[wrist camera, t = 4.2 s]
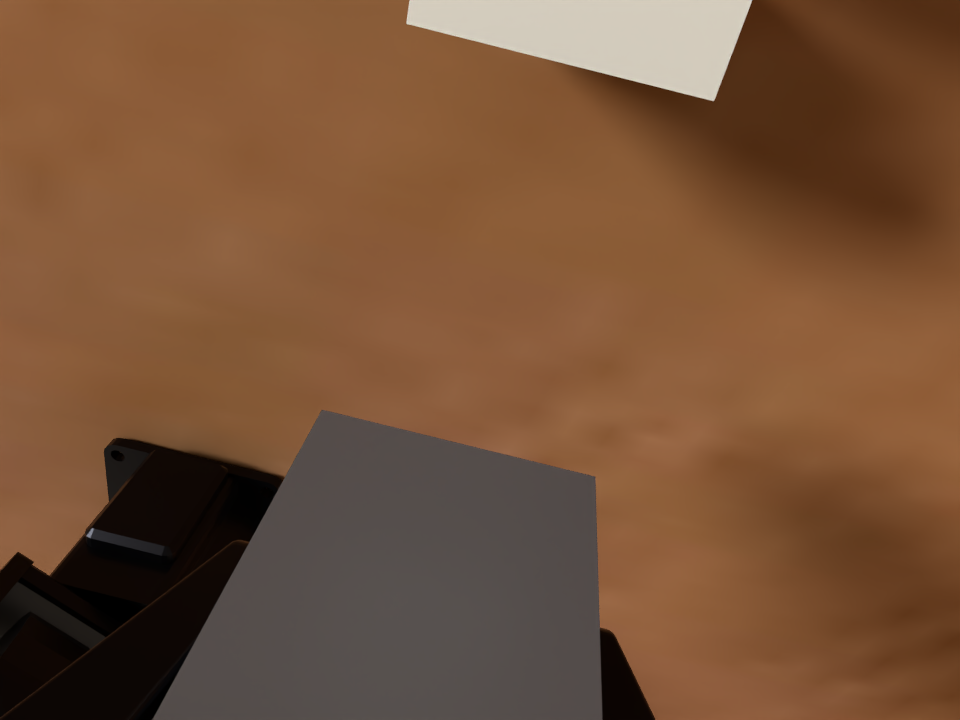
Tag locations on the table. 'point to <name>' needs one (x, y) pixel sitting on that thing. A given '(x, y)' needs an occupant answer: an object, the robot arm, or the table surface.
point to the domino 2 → (604, 35)
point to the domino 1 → (406, 590)
